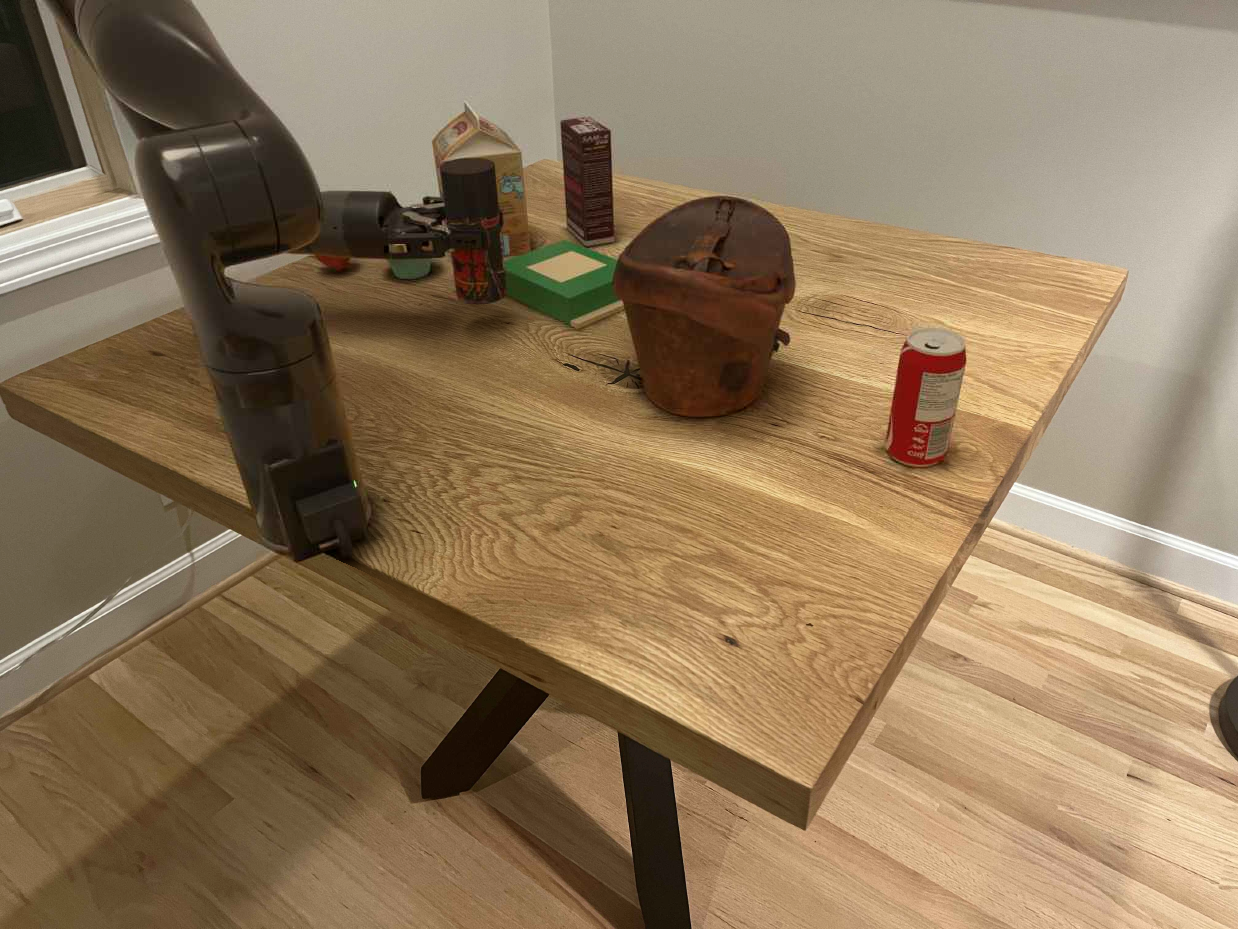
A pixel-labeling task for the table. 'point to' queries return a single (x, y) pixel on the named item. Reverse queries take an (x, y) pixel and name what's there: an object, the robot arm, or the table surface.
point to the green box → (564, 283)
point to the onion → (333, 262)
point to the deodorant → (475, 207)
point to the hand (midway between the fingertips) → (495, 228)
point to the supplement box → (588, 180)
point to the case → (706, 303)
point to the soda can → (925, 396)
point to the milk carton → (492, 143)
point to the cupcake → (410, 267)
